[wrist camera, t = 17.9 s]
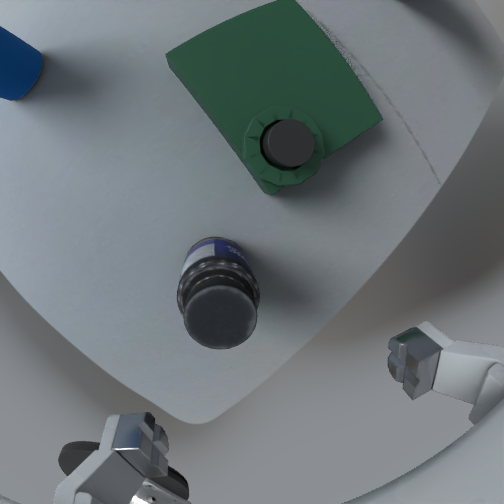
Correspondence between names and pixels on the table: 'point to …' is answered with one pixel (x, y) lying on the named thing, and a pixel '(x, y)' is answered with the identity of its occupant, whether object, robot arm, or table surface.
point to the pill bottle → (218, 294)
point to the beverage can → (17, 66)
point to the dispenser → (274, 86)
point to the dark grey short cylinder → (289, 143)
